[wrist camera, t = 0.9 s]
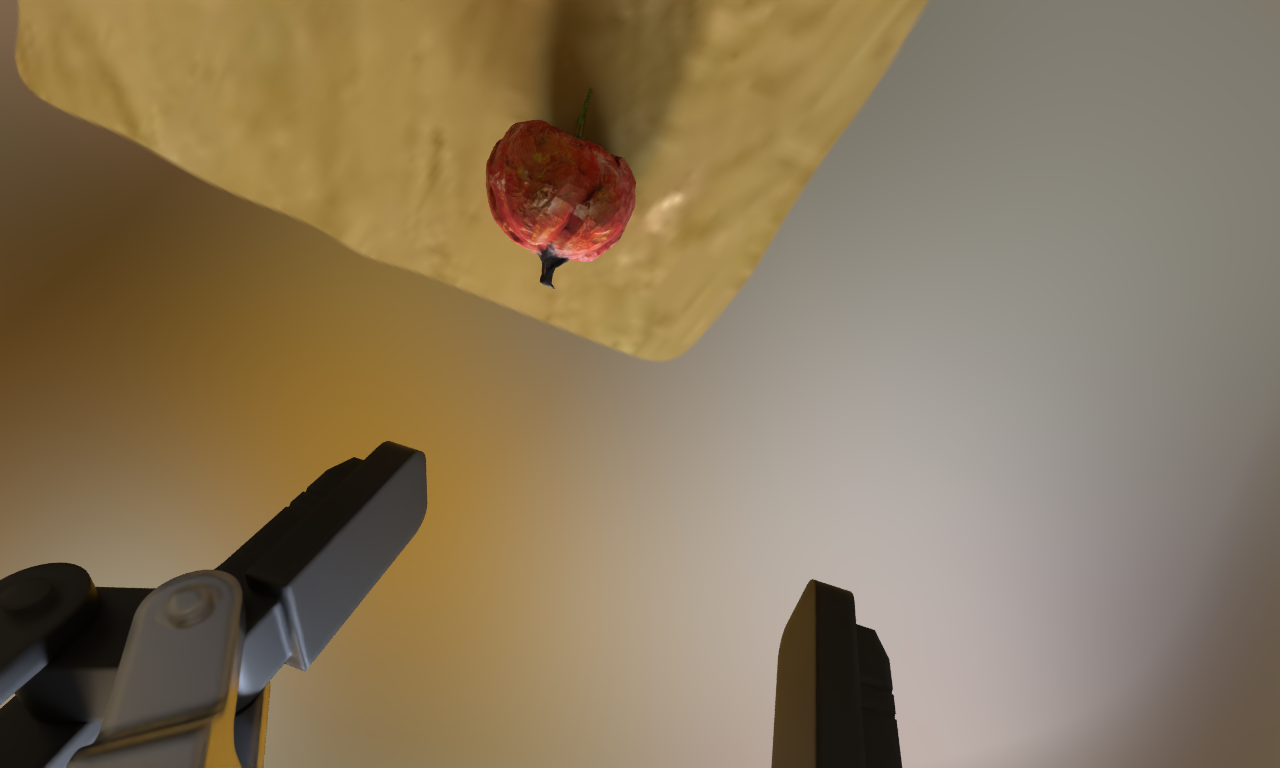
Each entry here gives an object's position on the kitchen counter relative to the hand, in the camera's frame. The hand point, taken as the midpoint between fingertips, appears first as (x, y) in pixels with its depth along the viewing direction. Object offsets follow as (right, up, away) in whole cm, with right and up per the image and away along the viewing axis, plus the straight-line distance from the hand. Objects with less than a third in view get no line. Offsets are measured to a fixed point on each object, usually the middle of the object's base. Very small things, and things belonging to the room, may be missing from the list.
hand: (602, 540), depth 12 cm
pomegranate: (-2, +15, +20) cm, 25 cm away
